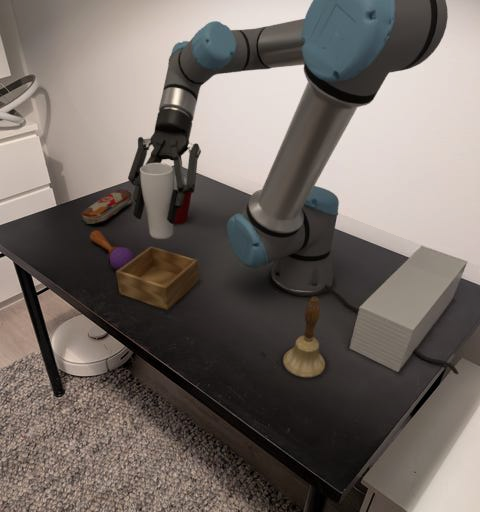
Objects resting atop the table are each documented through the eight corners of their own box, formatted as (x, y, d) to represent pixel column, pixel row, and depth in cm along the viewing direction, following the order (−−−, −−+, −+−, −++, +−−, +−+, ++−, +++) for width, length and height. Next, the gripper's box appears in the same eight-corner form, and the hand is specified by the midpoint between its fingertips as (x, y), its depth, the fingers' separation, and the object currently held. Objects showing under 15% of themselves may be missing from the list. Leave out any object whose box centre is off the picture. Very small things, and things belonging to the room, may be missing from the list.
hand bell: (329, 377, 87) (344, 311, 77) (286, 378, 86) (296, 312, 76) (320, 348, 93) (332, 283, 83) (280, 349, 93) (288, 284, 83)
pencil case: (71, 219, 134) (68, 203, 131) (121, 198, 147) (119, 183, 144) (97, 230, 129) (94, 214, 126) (146, 207, 142) (144, 192, 139)
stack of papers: (398, 372, 89) (413, 330, 82) (349, 348, 94) (359, 306, 87) (452, 300, 109) (467, 261, 102) (409, 283, 114) (421, 245, 107)
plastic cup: (203, 222, 135) (202, 183, 128) (170, 231, 130) (167, 191, 123) (185, 209, 142) (183, 171, 135) (153, 216, 137) (150, 178, 130)
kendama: (106, 224, 124) (139, 251, 110) (106, 245, 126) (138, 273, 113) (85, 226, 120) (115, 253, 107) (85, 247, 123) (115, 276, 110)
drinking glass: (147, 227, 104) (140, 162, 94) (177, 227, 104) (173, 162, 95) (145, 242, 98) (138, 174, 89) (176, 241, 99) (173, 174, 90)
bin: (198, 281, 111) (197, 260, 107) (167, 310, 101) (165, 288, 98) (152, 267, 115) (150, 245, 112) (119, 293, 106) (115, 271, 102)
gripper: (222, 131, 100) (202, 231, 97) (138, 122, 103) (117, 219, 100) (216, 111, 92) (194, 219, 90) (126, 102, 95) (102, 206, 93)
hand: (153, 219), depth 95 cm, fingers closed on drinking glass, 7 cm apart
